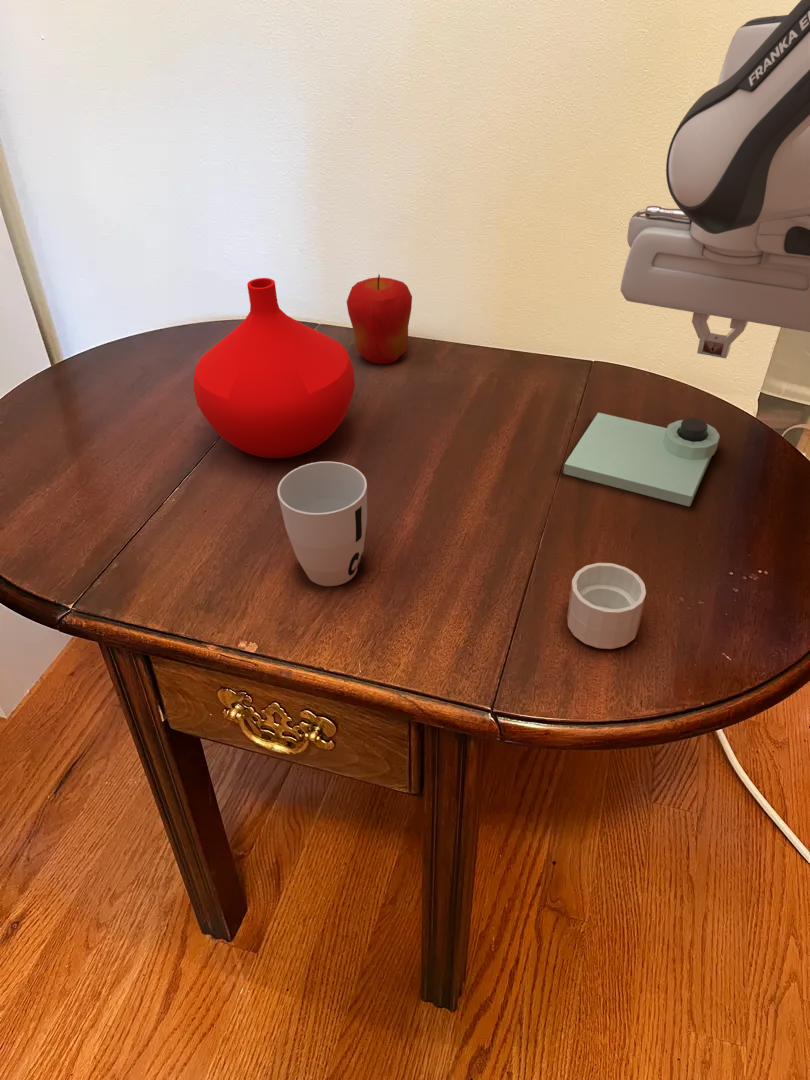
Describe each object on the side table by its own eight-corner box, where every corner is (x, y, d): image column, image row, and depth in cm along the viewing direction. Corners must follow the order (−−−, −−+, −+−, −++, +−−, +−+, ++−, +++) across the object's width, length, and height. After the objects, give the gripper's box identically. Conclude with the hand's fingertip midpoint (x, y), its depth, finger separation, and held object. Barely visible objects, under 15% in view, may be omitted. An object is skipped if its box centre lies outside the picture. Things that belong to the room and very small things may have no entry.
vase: (360, 475, 94) (348, 315, 82) (197, 485, 94) (160, 326, 82) (356, 393, 108) (346, 247, 96) (214, 401, 108) (185, 255, 96)
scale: (718, 449, 96) (723, 426, 95) (693, 508, 88) (698, 484, 86) (597, 420, 102) (600, 399, 100) (563, 473, 94) (565, 451, 92)
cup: (370, 596, 79) (364, 513, 73) (285, 597, 79) (271, 514, 73) (374, 541, 85) (368, 460, 79) (295, 542, 86) (283, 461, 79)
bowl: (645, 616, 76) (654, 575, 73) (625, 662, 72) (634, 621, 69) (579, 595, 78) (585, 555, 75) (556, 638, 74) (562, 597, 71)
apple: (415, 342, 119) (413, 261, 111) (410, 371, 113) (408, 287, 105) (355, 341, 120) (349, 260, 112) (347, 370, 113) (340, 286, 106)
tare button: (707, 432, 94) (710, 421, 93) (701, 445, 92) (704, 433, 91) (682, 427, 95) (684, 415, 94) (676, 439, 93) (678, 427, 92)
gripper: (622, 213, 79) (604, 347, 88) (857, 243, 71) (812, 387, 80) (640, 193, 83) (622, 323, 92) (865, 220, 75) (822, 359, 84)
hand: (712, 353), depth 86 cm, fingers closed
